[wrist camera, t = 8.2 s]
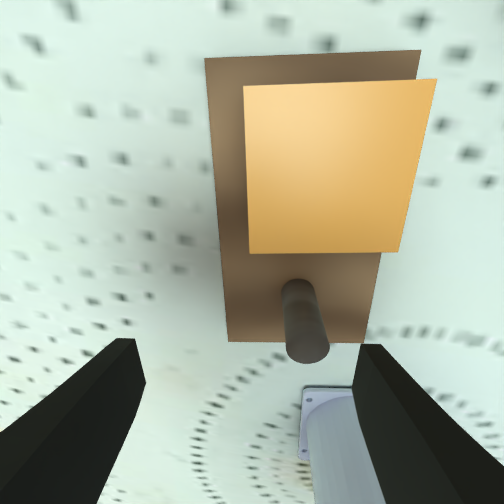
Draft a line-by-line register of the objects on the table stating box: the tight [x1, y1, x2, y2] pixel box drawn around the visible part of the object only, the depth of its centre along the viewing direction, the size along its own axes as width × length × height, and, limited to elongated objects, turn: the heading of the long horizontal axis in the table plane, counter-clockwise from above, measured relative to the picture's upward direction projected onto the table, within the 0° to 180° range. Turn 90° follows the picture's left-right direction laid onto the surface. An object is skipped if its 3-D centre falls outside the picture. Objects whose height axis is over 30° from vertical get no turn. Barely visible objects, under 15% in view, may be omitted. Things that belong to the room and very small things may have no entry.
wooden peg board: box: [204, 50, 421, 364], centre depth 14 cm, size 16×9×6 cm, turn 2°
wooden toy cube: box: [243, 79, 437, 254], centre depth 11 cm, size 5×5×4 cm
